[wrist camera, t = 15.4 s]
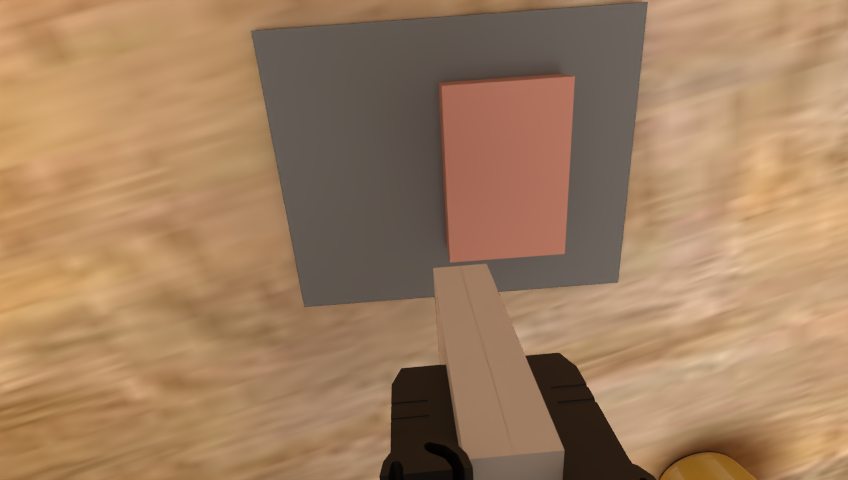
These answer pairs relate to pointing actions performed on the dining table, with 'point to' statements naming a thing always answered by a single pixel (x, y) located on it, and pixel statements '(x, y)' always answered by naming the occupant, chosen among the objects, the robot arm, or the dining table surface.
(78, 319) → the dining table surface
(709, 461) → the plant pot
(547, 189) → the card box
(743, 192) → the dining table surface
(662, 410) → the dining table surface
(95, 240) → the dining table surface
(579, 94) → the mat
